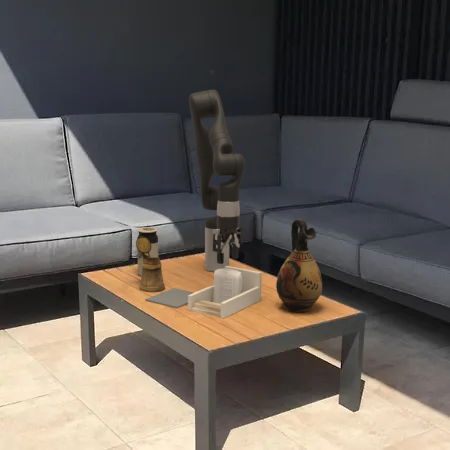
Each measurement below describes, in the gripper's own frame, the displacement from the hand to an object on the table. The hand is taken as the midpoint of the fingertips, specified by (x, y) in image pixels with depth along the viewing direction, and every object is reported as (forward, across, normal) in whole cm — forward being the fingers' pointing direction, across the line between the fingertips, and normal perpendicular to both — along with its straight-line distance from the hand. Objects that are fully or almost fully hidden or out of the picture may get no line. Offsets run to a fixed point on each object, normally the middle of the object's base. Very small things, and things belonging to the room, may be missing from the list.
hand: (227, 260), depth 242 cm
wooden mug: (+15, +1, -34) cm, 37 cm away
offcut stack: (+16, +10, 0) cm, 19 cm away
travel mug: (+15, -11, -45) cm, 49 cm away
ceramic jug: (+15, -11, +21) cm, 28 cm away
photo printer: (+15, 0, 0) cm, 15 cm away
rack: (+15, +1, 0) cm, 15 cm away
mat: (+15, +6, -18) cm, 24 cm away
